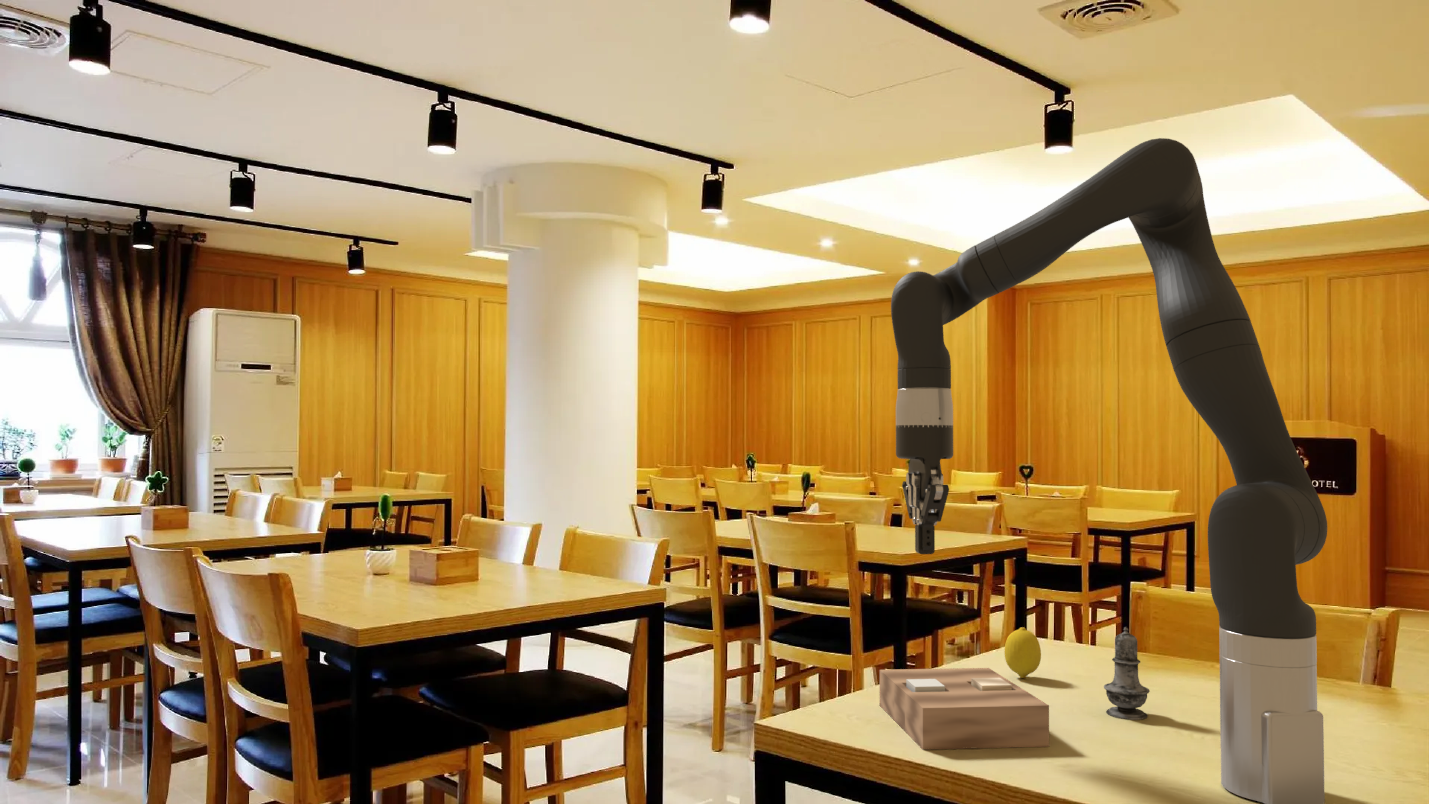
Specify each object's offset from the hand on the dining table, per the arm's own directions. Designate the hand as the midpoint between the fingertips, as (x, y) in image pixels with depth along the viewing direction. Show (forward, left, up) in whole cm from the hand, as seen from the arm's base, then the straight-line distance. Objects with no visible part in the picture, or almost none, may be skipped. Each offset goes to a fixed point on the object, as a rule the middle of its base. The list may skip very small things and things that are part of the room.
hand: (924, 553), depth 132 cm
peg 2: (0, -9, -22) cm, 24 cm away
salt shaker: (+3, -30, -23) cm, 37 cm away
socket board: (0, -5, -23) cm, 23 cm away
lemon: (+24, -24, -23) cm, 41 cm away
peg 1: (0, 0, -22) cm, 22 cm away
